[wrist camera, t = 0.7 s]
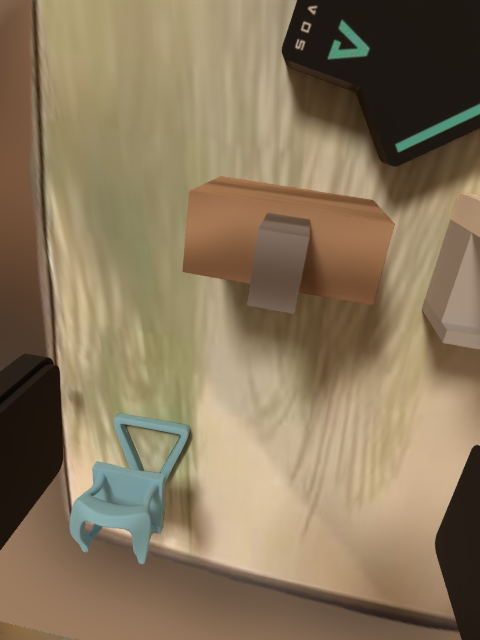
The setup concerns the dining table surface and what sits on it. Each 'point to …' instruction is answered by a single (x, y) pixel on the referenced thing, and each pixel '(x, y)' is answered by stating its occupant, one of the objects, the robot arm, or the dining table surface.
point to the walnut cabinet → (286, 241)
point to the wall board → (458, 278)
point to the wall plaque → (396, 66)
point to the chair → (127, 491)
